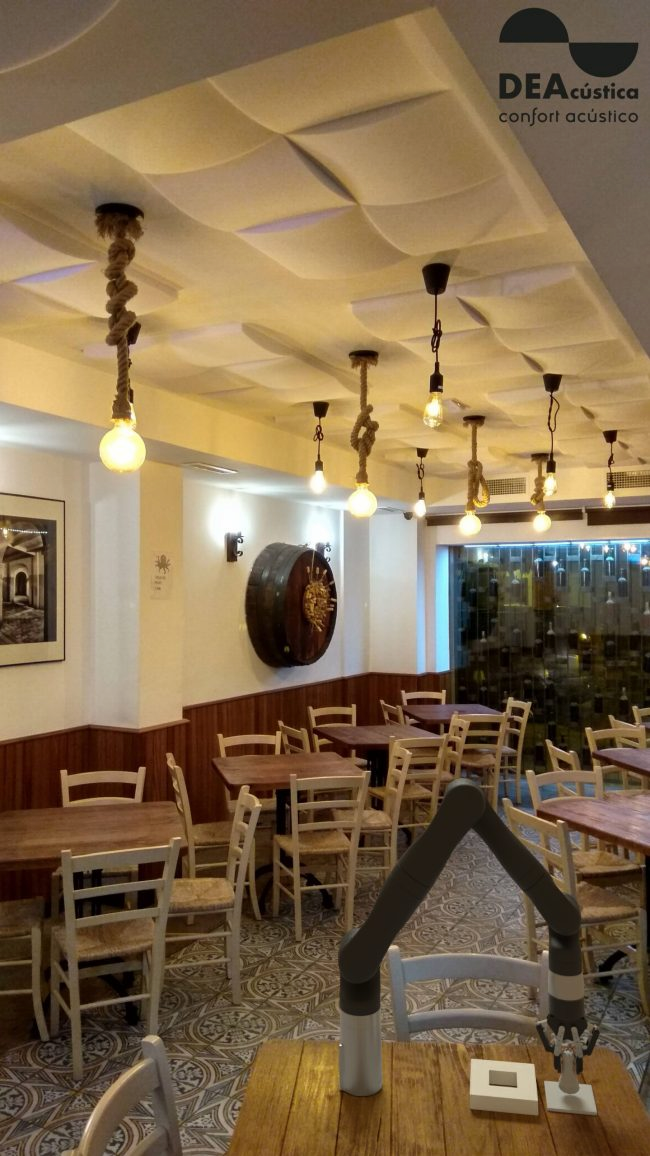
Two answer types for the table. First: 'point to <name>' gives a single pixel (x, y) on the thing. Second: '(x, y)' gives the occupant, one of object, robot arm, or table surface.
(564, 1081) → the rook chess piece
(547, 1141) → the table surface
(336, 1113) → the table surface
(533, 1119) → the table surface
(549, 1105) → the grey mat
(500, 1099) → the pocket holder
